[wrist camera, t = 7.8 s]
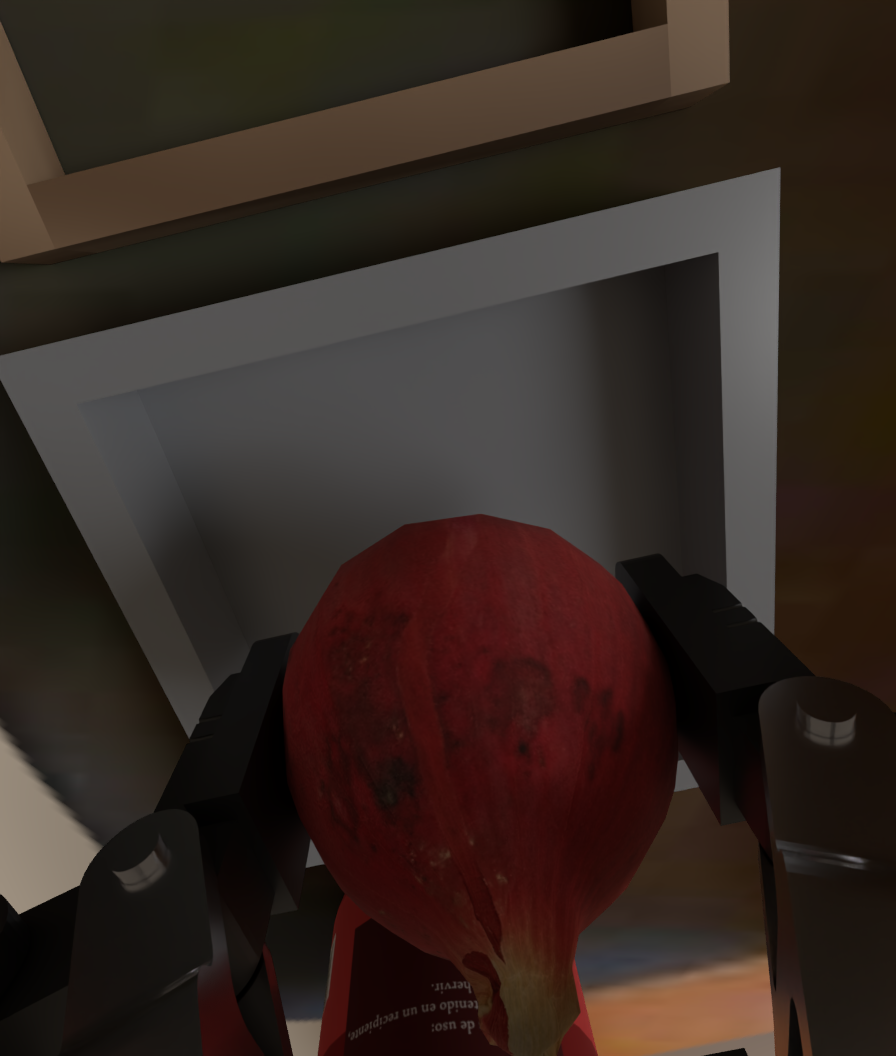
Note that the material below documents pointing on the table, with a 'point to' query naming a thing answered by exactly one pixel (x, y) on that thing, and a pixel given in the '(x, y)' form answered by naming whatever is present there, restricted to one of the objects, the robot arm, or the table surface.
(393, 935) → the canned food
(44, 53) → the table surface
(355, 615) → the onion
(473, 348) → the bin
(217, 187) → the square frame
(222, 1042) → the robot arm
